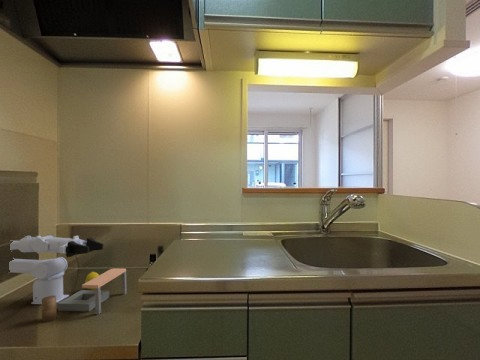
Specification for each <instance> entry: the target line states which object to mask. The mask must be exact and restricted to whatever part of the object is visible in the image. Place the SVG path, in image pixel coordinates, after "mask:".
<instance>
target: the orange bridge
mask: <svg viewBox="0 0 480 360" xmlns="http://www.w3.org/2000/svg"><path fill="white" fill-rule="evenodd" d="M119 276H121V293H122V294H121V295H127V293H128V292H127V290H128V289H127V269H126V268H119V267H118V268H115V267H114V268H110V269H108V270H107V271H105V272H104V273H101V274H99V276H97V277H96V278H94V279H92V280H90V281H88V282H86V283H85V282H84V283H83V284H81V288H82V289H88V288H95V305H96V307H95V315H101V314H102V303H101V291H102V290H101V288H102V287H103V286H104V285H106V284H107V283H109V282H111V281H113V280H114V279H116V278H118V277H119ZM100 313H101V314H100Z"/></svg>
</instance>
